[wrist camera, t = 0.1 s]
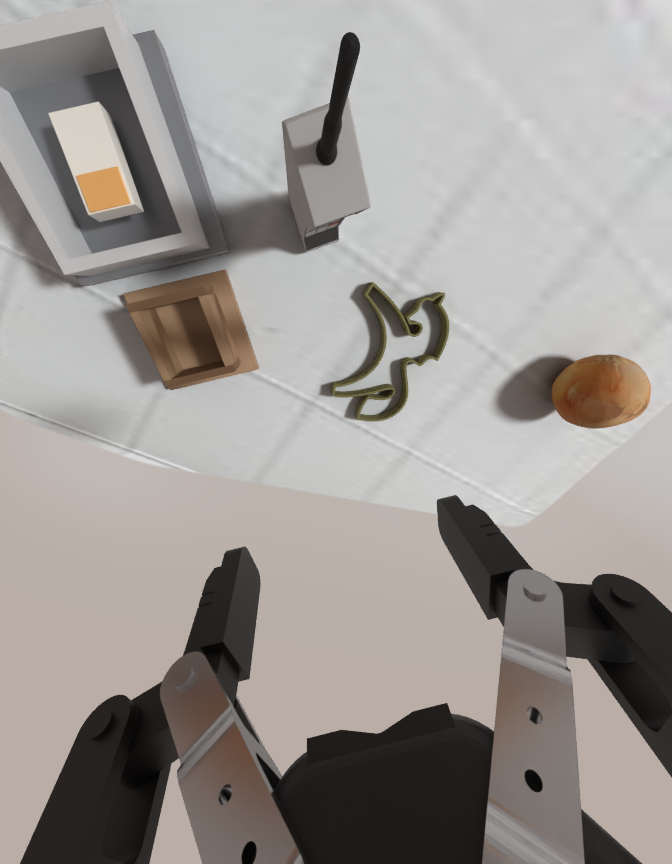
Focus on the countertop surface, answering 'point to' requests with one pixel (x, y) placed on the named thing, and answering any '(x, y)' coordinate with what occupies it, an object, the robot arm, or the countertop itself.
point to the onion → (601, 391)
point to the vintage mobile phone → (326, 159)
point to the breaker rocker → (96, 161)
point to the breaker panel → (136, 129)
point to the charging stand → (193, 329)
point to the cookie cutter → (436, 355)
